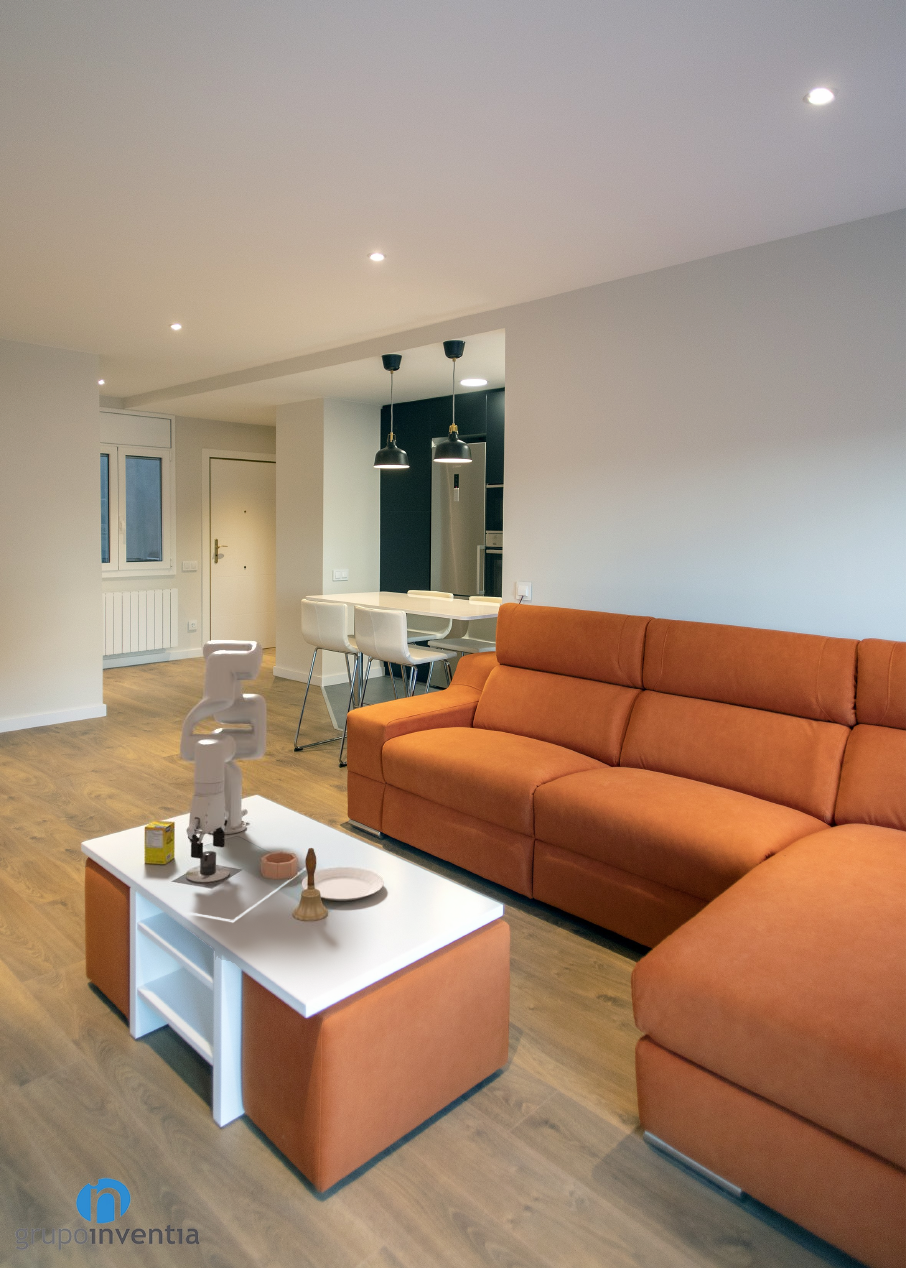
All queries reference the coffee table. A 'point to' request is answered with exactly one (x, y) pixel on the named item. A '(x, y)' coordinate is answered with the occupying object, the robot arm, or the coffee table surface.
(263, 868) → the hollow octagonal tube
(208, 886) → the mat
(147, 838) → the supplement box
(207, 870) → the lid
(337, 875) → the plate
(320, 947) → the coffee table surface
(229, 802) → the robot arm
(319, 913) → the hand bell
